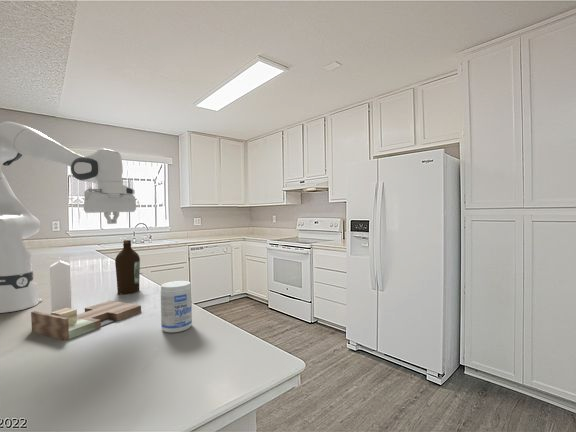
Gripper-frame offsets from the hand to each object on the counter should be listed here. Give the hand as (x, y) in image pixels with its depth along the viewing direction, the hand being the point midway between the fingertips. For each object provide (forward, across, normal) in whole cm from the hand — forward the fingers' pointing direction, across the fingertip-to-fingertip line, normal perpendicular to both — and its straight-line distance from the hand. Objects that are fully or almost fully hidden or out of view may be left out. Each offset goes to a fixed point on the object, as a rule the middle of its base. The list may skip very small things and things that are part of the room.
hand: (112, 223), depth 121 cm
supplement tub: (+34, -7, -40) cm, 53 cm away
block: (+32, -22, -6) cm, 39 cm away
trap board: (+34, -14, -6) cm, 37 cm away
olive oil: (+34, +19, +16) cm, 42 cm away
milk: (+34, -13, +12) cm, 39 cm away
